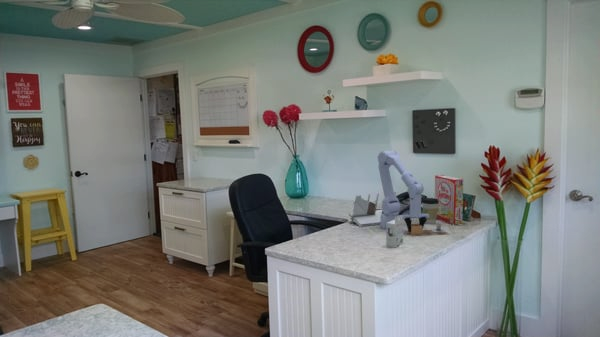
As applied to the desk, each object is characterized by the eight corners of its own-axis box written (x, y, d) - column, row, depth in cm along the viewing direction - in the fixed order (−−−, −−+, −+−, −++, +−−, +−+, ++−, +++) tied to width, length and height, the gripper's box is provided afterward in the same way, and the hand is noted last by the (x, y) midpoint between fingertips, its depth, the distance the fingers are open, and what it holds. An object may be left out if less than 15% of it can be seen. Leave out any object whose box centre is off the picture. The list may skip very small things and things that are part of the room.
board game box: (433, 218, 279) (434, 175, 276) (442, 217, 280) (443, 174, 278) (453, 225, 259) (454, 179, 256) (463, 224, 261) (464, 178, 258)
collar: (412, 234, 234) (412, 226, 234) (408, 232, 240) (408, 224, 239) (422, 234, 235) (422, 225, 234) (418, 231, 240) (418, 223, 240)
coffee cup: (423, 222, 269) (424, 197, 267) (440, 223, 264) (441, 198, 262) (419, 225, 260) (419, 199, 259) (436, 227, 255) (436, 201, 254)
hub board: (412, 238, 231) (412, 228, 230) (403, 233, 243) (403, 223, 242) (450, 236, 234) (450, 226, 233) (440, 231, 246) (440, 221, 245)
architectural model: (342, 215, 277) (347, 184, 268) (383, 211, 287) (389, 181, 279) (357, 232, 260) (363, 199, 251) (400, 227, 270) (407, 196, 262)
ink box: (394, 242, 224) (394, 213, 222) (403, 244, 221) (403, 214, 219) (385, 246, 217) (385, 216, 216) (394, 247, 214) (395, 217, 213)
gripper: (404, 208, 231) (404, 234, 232) (431, 207, 233) (431, 232, 234) (400, 205, 238) (399, 230, 239) (426, 204, 240) (425, 229, 241)
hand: (415, 231), depth 237 cm, fingers closed on collar, 6 cm apart
